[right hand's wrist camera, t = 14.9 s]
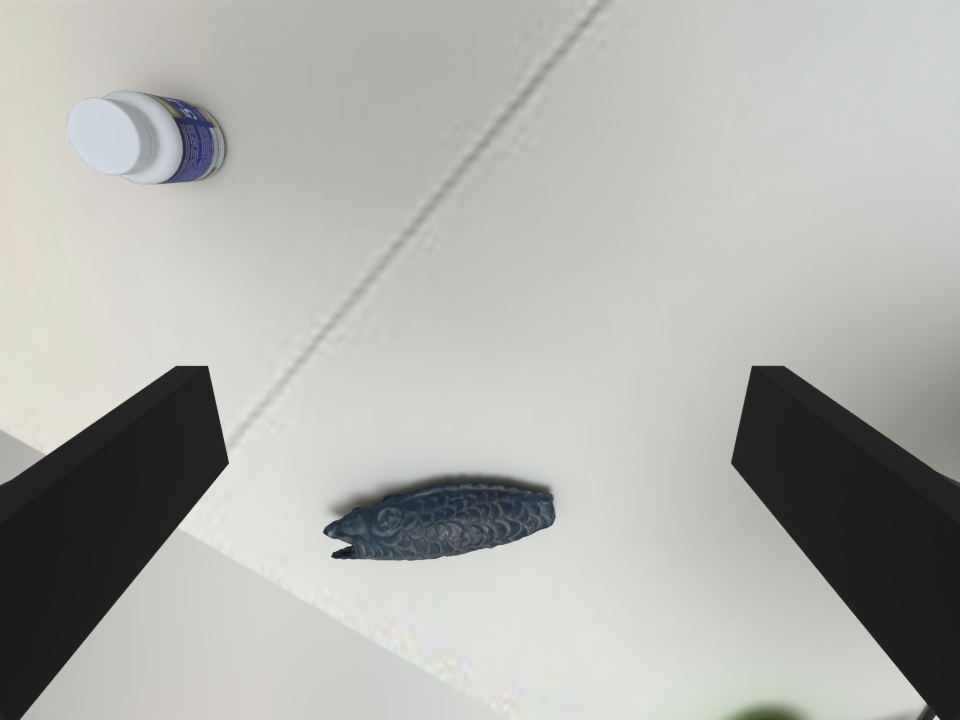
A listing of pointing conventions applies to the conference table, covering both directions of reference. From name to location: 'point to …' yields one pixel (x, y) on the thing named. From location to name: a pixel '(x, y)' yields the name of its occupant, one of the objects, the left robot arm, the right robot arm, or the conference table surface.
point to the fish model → (442, 522)
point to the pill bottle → (145, 138)
